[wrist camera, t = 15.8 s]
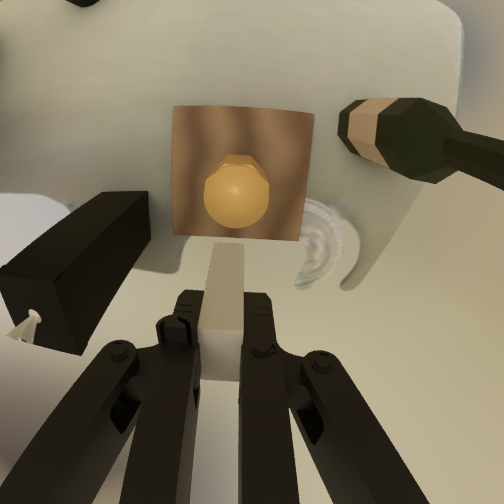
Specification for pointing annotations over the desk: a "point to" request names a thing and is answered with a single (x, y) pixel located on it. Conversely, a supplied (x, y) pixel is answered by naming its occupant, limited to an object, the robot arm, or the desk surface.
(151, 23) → the desk surface
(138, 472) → the robot arm
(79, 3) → the wine bottle
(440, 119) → the labelled green bottle
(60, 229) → the black pillar candle
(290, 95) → the desk surface
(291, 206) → the walnut board
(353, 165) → the desk surface
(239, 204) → the ochre cap
